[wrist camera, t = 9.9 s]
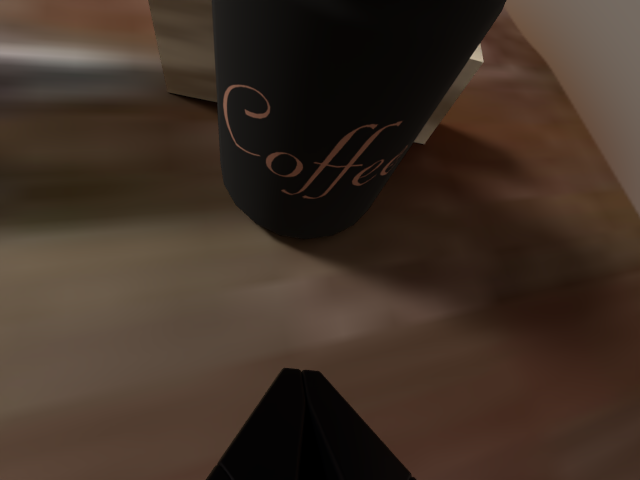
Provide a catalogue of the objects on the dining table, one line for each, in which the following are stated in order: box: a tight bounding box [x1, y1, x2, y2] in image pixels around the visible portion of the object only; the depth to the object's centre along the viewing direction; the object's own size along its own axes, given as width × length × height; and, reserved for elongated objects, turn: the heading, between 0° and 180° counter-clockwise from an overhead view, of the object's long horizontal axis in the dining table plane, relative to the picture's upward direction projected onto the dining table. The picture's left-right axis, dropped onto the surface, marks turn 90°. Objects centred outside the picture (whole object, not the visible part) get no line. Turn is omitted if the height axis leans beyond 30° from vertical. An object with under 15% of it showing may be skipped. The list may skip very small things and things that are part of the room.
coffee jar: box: [212, 0, 506, 239], centre depth 18 cm, size 11×11×18 cm
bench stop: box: [148, 0, 483, 144], centre depth 24 cm, size 3×20×11 cm, turn 86°
